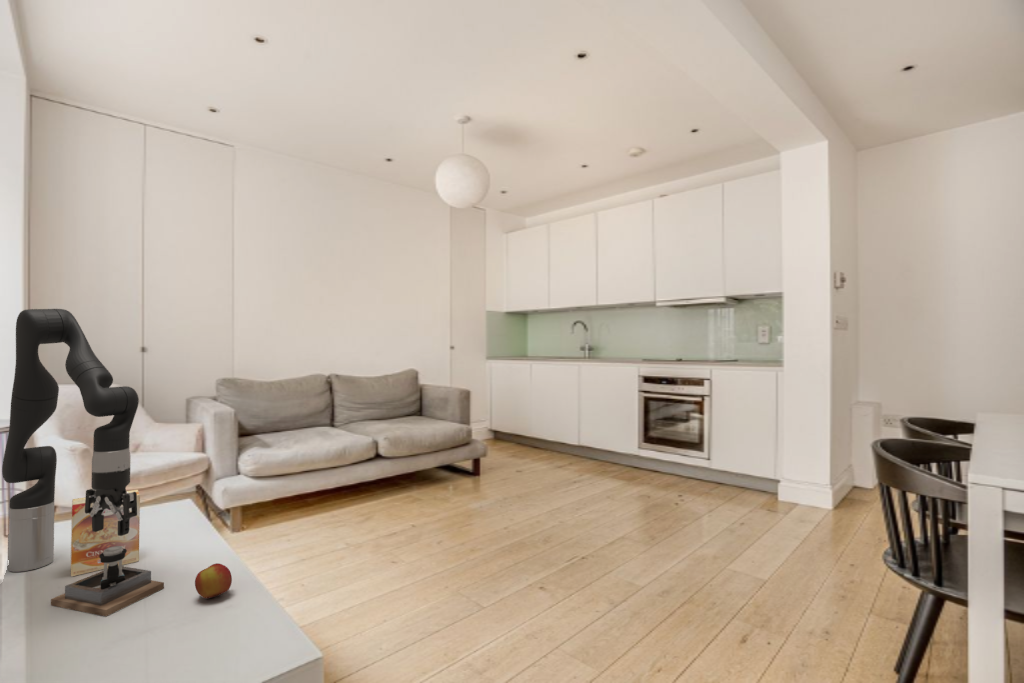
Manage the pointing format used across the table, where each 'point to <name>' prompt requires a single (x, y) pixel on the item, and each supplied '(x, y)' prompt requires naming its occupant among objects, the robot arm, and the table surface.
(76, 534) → the coffeecake box
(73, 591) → the socket
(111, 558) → the push button
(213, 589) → the apple
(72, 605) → the mounting board
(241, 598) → the table surface
